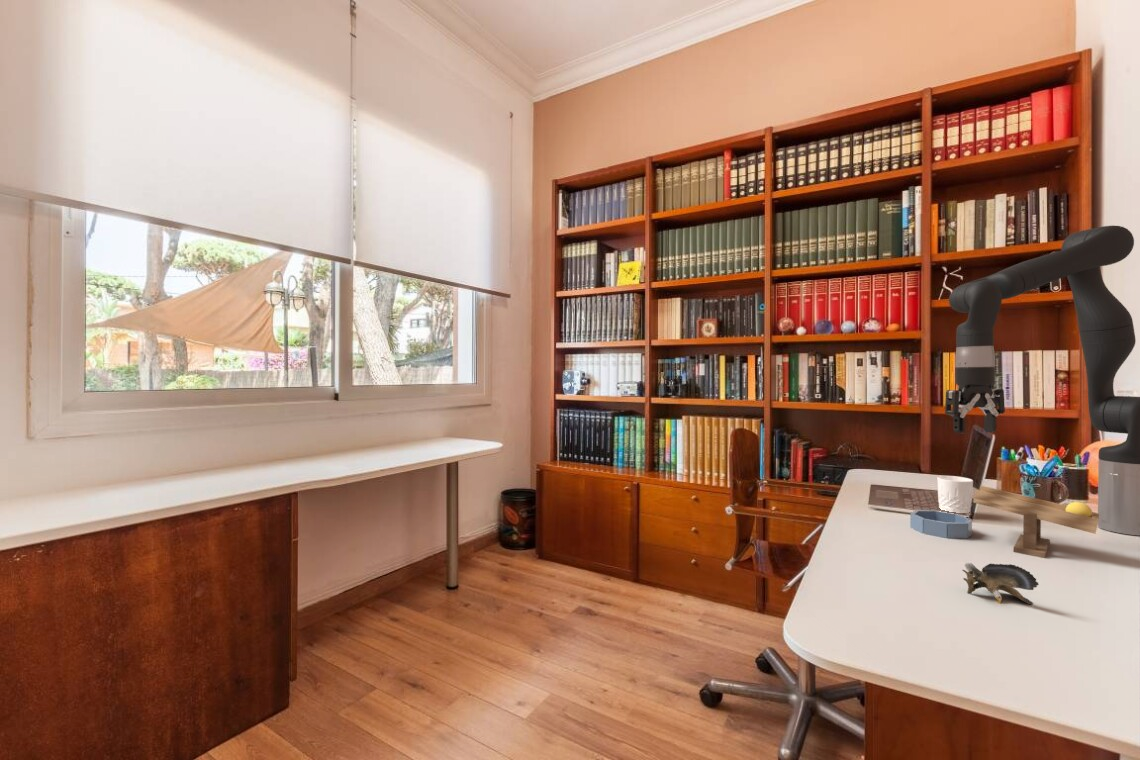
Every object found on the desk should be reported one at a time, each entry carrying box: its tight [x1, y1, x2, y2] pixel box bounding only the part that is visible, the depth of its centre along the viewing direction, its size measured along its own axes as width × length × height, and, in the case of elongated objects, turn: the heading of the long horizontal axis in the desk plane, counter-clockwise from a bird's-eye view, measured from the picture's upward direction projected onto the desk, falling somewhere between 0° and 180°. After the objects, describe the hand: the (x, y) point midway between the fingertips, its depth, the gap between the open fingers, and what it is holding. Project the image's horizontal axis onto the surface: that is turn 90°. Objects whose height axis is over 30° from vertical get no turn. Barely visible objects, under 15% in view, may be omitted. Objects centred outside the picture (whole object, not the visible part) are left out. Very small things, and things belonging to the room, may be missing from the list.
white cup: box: [936, 475, 974, 513], centre depth 140 cm, size 8×8×10 cm
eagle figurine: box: [961, 562, 1039, 605], centre depth 88 cm, size 8×7×9 cm
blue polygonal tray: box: [910, 509, 973, 539], centre depth 126 cm, size 12×12×4 cm
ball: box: [1066, 501, 1093, 517], centre depth 108 cm, size 4×4×4 cm
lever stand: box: [1012, 512, 1051, 559], centre depth 113 cm, size 5×13×9 cm, turn 133°
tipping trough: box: [972, 485, 1099, 535], centre depth 115 cm, size 20×13×3 cm, turn 43°
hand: (974, 432), depth 123 cm, fingers open, 8 cm apart
